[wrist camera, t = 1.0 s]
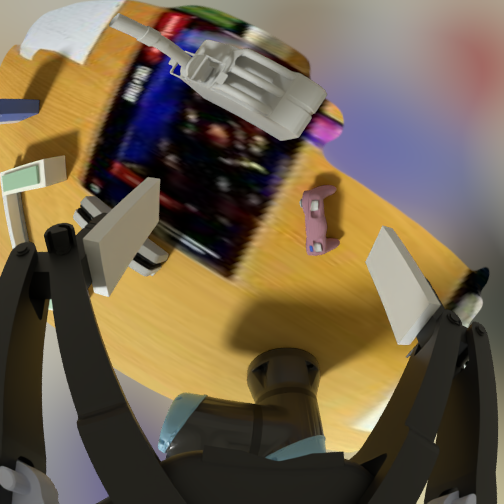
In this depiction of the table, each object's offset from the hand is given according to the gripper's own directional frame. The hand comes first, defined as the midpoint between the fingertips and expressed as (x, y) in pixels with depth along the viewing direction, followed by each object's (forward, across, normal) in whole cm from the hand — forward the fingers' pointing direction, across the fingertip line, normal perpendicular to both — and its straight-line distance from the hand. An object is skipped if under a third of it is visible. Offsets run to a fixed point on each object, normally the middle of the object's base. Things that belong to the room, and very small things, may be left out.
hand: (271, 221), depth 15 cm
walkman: (+26, +47, -3) cm, 54 cm away
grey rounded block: (+22, +20, +17) cm, 34 cm away
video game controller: (+24, -9, +10) cm, 27 cm away
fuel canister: (+26, +5, -5) cm, 27 cm away
